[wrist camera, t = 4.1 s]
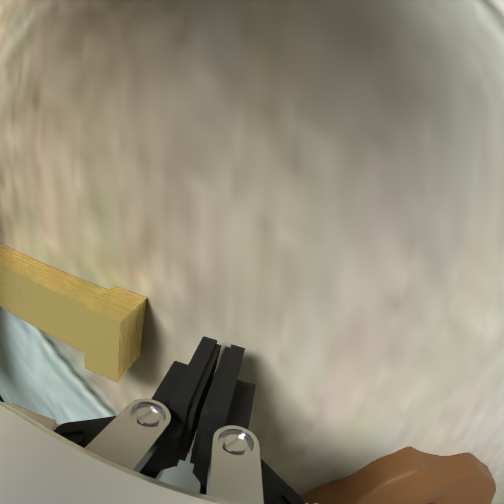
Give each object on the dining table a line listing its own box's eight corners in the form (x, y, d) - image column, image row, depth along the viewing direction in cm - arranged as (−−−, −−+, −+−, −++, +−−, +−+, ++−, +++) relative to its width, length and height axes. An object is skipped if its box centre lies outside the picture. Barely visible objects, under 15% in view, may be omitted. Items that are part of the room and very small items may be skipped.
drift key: (146, 297, 13) (120, 321, 10) (140, 354, 13) (117, 382, 11) (-20, 229, 13) (-48, 237, 11) (-18, 275, 14) (-45, 287, 12)
